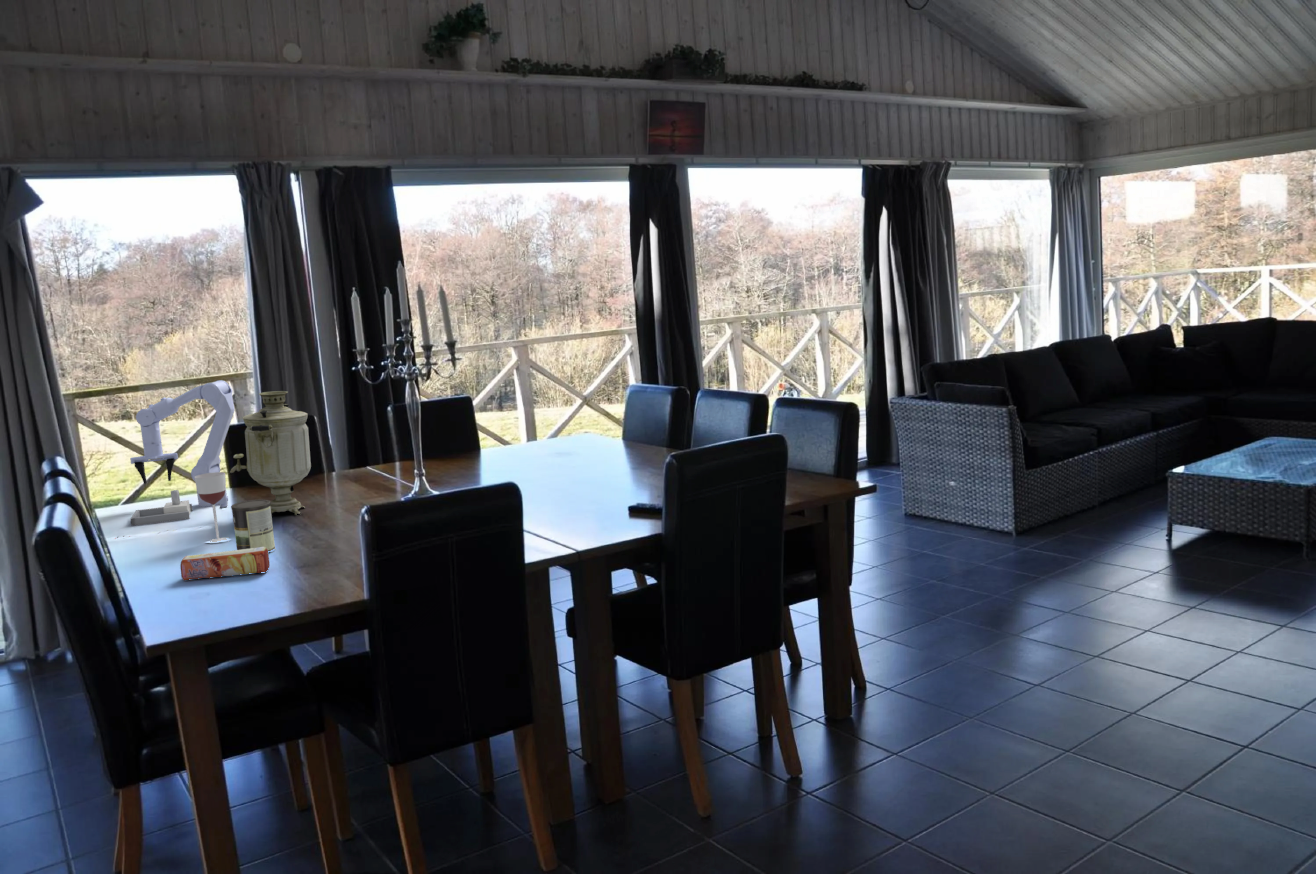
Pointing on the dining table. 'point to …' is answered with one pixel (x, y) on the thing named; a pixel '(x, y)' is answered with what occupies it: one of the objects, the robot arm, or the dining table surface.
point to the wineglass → (212, 492)
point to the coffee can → (253, 524)
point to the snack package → (225, 563)
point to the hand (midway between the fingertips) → (157, 481)
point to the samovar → (277, 449)
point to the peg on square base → (176, 504)
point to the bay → (157, 516)
